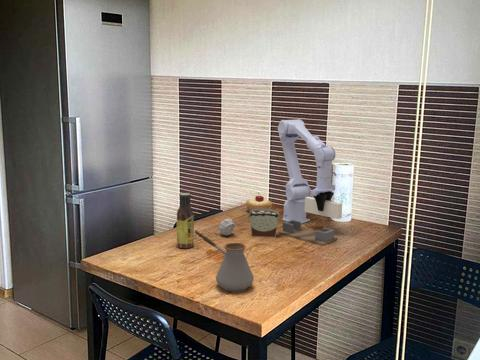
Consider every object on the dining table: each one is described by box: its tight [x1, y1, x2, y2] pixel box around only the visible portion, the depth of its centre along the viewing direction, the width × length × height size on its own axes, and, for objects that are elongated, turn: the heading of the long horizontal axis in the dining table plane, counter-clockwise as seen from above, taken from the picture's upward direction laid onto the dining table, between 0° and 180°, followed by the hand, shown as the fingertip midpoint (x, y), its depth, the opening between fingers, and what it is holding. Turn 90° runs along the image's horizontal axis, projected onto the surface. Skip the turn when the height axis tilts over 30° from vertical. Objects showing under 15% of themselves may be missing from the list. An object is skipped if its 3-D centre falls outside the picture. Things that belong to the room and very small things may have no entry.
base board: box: [278, 228, 338, 246], centre depth 209 cm, size 21×10×1 cm, turn 48°
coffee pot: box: [192, 230, 255, 293], centre depth 162 cm, size 21×12×15 cm, turn 56°
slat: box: [305, 196, 343, 220], centre depth 214 cm, size 16×2×6 cm, turn 48°
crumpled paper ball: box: [218, 218, 236, 236], centre depth 209 cm, size 6×7×7 cm
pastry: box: [245, 192, 273, 213], centre depth 244 cm, size 12×12×9 cm
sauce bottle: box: [176, 192, 195, 249], centre depth 195 cm, size 6×6×20 cm
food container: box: [247, 208, 281, 239], centre depth 210 cm, size 12×6×10 cm, turn 84°
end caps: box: [282, 220, 335, 242], centre depth 209 cm, size 20×6×4 cm, turn 48°
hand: (322, 210), depth 214 cm, fingers closed on slat, 2 cm apart
